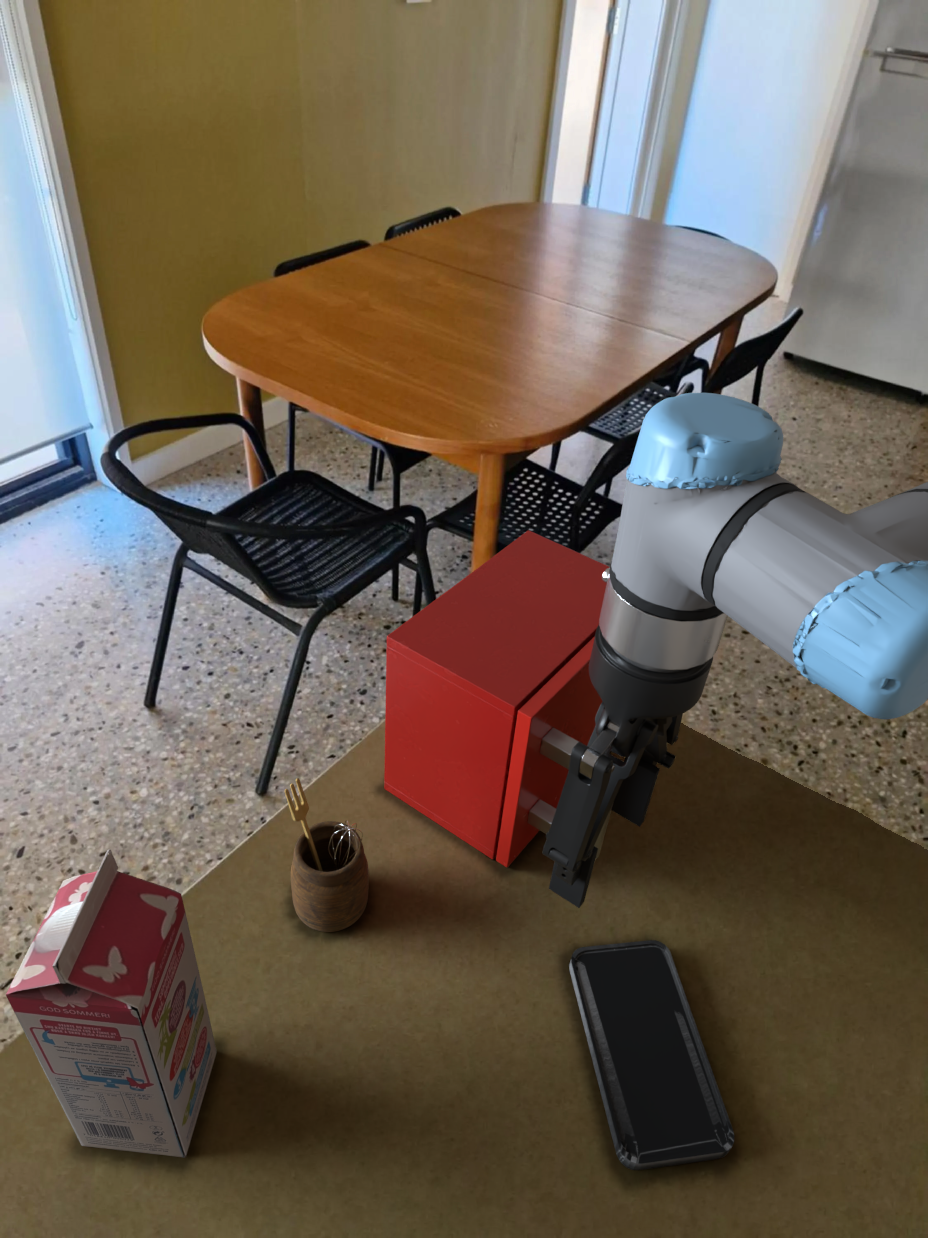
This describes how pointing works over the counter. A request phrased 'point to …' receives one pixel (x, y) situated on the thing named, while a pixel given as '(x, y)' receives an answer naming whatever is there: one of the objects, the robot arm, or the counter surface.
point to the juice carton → (118, 1012)
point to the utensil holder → (327, 871)
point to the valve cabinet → (481, 679)
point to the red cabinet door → (547, 754)
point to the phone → (648, 1057)
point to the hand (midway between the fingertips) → (598, 853)
